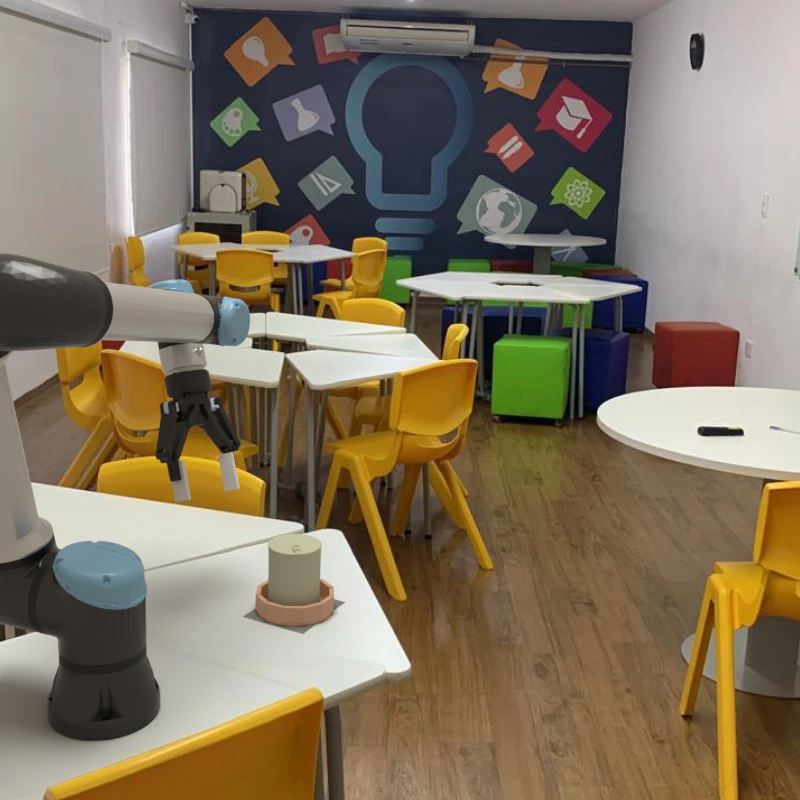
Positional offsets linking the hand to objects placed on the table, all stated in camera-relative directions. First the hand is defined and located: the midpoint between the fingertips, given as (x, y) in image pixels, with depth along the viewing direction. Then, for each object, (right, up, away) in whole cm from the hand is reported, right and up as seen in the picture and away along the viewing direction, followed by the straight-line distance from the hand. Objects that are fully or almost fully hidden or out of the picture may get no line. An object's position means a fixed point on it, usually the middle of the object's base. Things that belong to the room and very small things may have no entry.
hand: (208, 495), depth 165 cm
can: (+14, -20, +5) cm, 25 cm away
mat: (+14, -21, +5) cm, 25 cm away
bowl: (+14, -20, +5) cm, 25 cm away
